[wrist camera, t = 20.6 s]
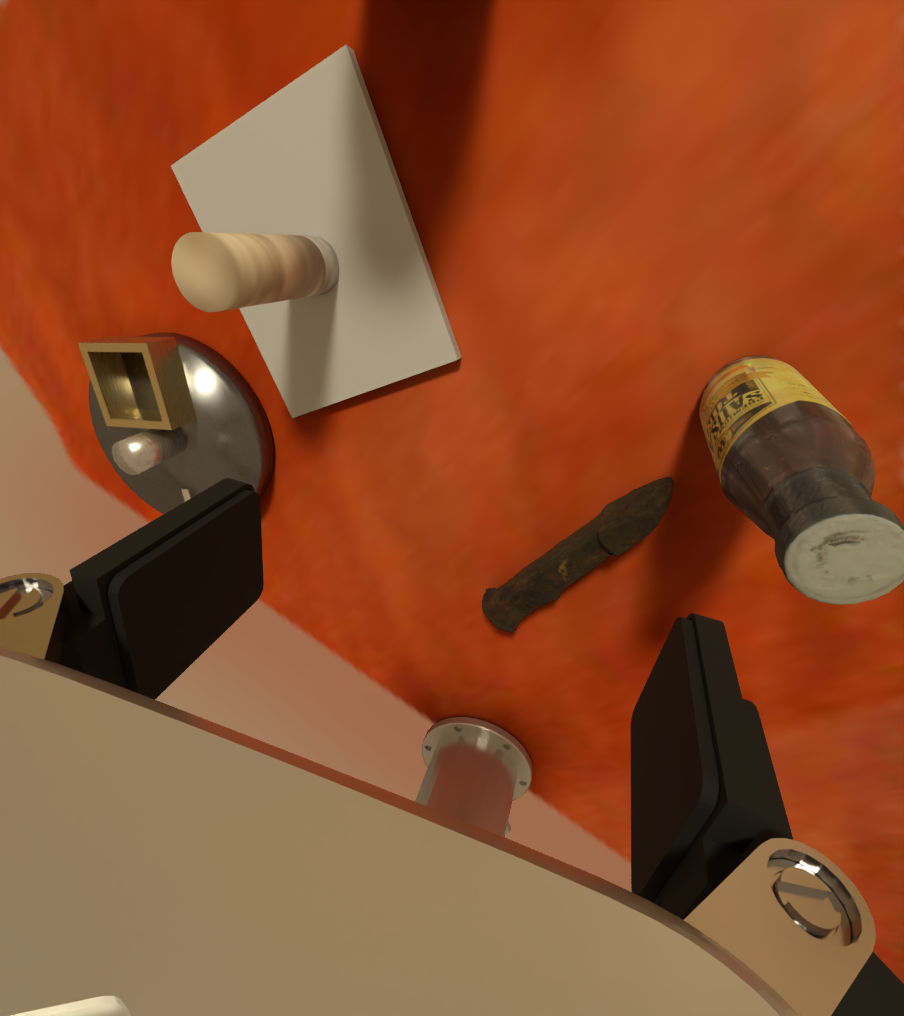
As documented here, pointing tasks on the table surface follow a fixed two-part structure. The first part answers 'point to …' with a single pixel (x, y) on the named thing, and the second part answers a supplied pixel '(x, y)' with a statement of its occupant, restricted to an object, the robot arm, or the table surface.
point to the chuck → (175, 417)
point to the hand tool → (578, 554)
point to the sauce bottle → (802, 480)
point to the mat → (326, 237)
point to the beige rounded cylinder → (251, 268)
